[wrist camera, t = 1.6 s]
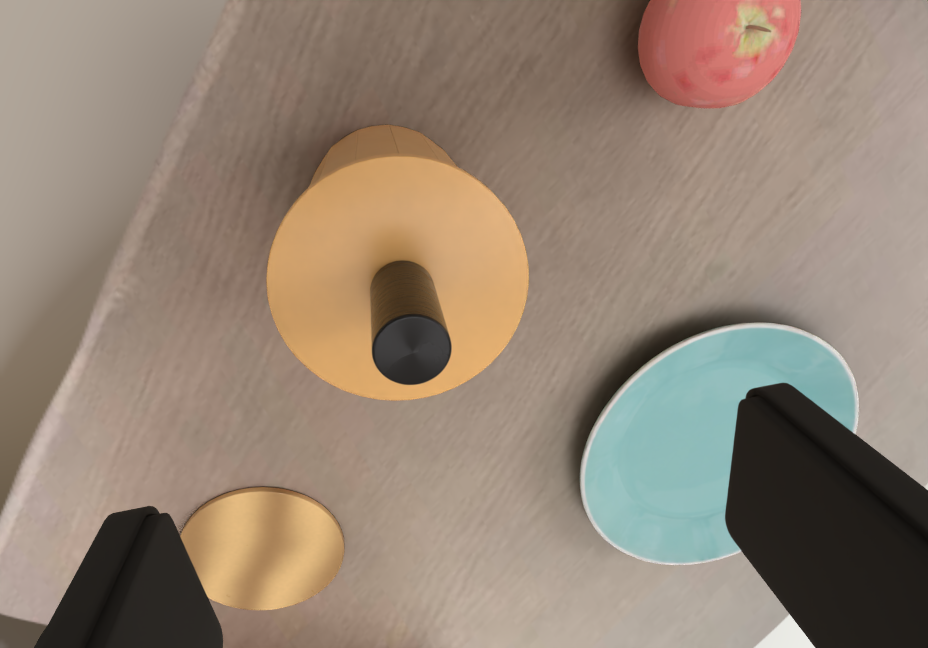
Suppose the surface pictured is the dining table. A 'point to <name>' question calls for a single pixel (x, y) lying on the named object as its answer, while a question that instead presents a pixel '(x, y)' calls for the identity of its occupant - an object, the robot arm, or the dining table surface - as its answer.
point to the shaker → (378, 147)
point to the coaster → (263, 548)
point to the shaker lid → (397, 277)
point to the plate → (695, 436)
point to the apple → (715, 48)
